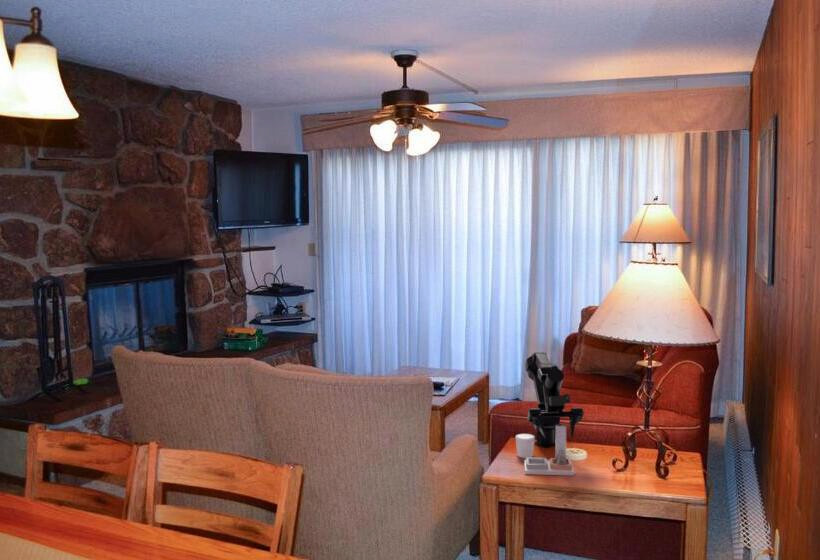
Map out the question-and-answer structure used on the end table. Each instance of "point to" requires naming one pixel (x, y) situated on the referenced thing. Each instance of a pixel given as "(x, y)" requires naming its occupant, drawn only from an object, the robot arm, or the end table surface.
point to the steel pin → (560, 444)
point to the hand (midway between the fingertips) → (558, 437)
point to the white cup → (525, 445)
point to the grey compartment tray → (547, 467)
